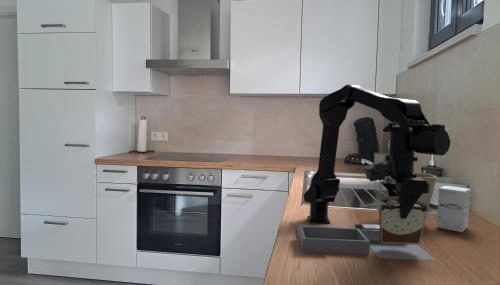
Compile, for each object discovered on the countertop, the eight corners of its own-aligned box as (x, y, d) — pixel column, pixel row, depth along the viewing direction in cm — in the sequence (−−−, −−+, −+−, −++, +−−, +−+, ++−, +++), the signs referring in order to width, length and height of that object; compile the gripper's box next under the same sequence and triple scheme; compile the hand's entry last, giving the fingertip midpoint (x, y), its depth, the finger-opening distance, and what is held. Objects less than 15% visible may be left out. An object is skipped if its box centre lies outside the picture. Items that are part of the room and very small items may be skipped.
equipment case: (295, 227, 105) (296, 215, 105) (348, 229, 104) (349, 217, 104) (302, 252, 84) (303, 238, 84) (369, 255, 83) (369, 241, 83)
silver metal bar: (361, 235, 96) (361, 224, 96) (394, 237, 96) (395, 225, 95) (364, 239, 93) (365, 227, 93) (398, 241, 92) (399, 229, 92)
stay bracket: (354, 236, 98) (355, 223, 97) (398, 238, 97) (398, 225, 97) (360, 243, 92) (360, 230, 91) (406, 245, 91) (407, 232, 91)
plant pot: (444, 228, 107) (447, 177, 106) (401, 230, 104) (404, 177, 103) (412, 216, 122) (415, 170, 121) (374, 217, 119) (376, 170, 118)
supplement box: (435, 227, 108) (438, 187, 107) (442, 223, 113) (444, 184, 113) (463, 233, 103) (465, 191, 102) (468, 228, 108) (471, 188, 108)
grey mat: (366, 244, 91) (366, 242, 91) (417, 246, 90) (417, 245, 90) (378, 259, 81) (378, 257, 81) (435, 261, 80) (435, 260, 80)
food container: (413, 233, 90) (417, 196, 88) (425, 244, 84) (430, 204, 82) (366, 232, 89) (369, 194, 88) (375, 243, 83) (379, 203, 82)
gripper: (358, 147, 94) (355, 204, 95) (380, 153, 75) (376, 224, 76) (400, 149, 93) (397, 206, 94) (432, 155, 75) (428, 226, 76)
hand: (398, 214), depth 85 cm, fingers closed on food container, 6 cm apart
